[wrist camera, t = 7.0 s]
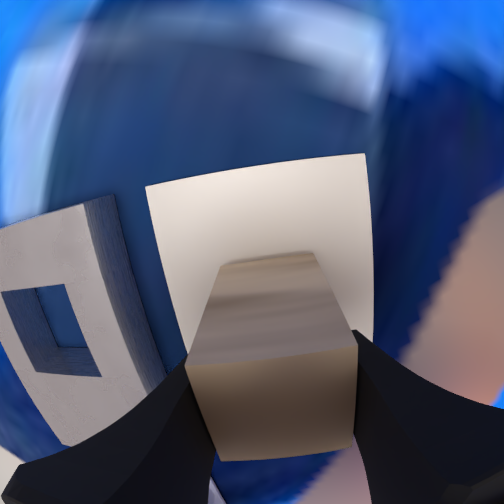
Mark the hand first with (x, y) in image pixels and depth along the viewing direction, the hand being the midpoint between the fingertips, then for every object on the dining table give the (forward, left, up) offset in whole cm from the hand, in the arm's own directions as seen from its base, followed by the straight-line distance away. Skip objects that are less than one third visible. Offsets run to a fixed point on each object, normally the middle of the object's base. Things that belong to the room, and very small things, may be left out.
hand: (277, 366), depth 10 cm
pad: (-1, 0, -6) cm, 6 cm away
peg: (0, 0, -5) cm, 5 cm away
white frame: (-2, +12, -6) cm, 14 cm away
